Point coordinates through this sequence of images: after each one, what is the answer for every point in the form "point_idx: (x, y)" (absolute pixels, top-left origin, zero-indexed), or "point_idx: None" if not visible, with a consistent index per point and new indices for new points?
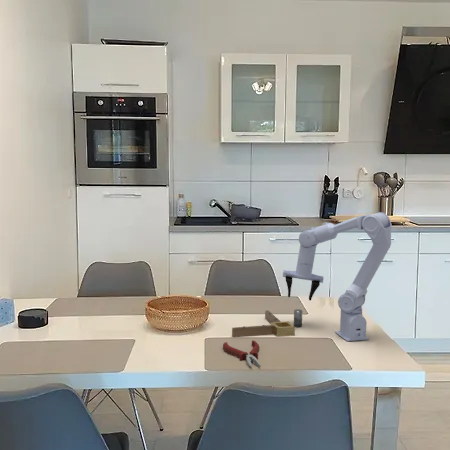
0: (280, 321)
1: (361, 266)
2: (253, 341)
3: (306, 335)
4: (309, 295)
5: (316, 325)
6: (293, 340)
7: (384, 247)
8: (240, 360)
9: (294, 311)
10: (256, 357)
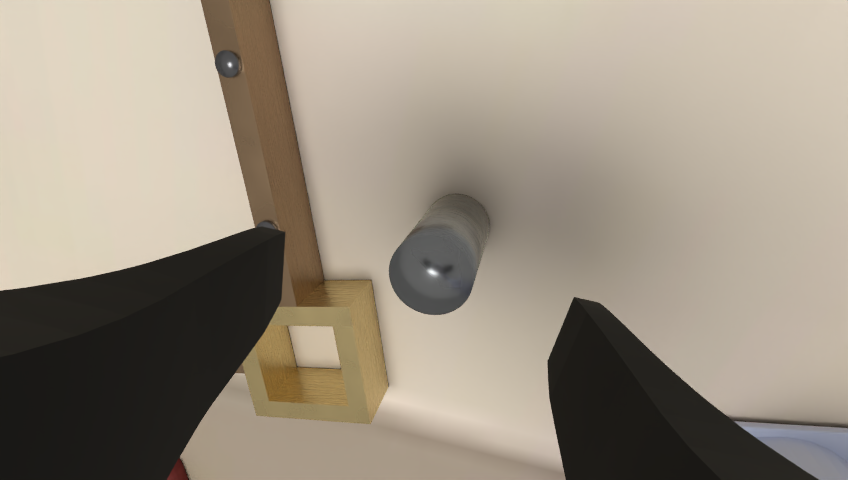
0: (291, 297)
1: None
2: None
3: (460, 404)
4: (579, 350)
5: (621, 226)
6: (363, 452)
7: None
8: None
9: (392, 278)
10: None
